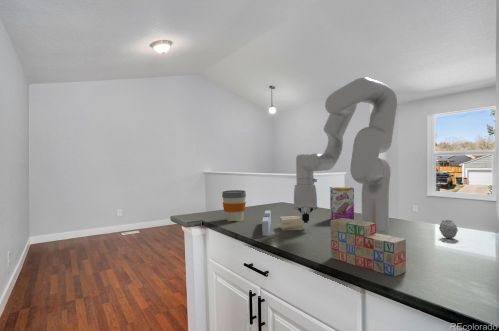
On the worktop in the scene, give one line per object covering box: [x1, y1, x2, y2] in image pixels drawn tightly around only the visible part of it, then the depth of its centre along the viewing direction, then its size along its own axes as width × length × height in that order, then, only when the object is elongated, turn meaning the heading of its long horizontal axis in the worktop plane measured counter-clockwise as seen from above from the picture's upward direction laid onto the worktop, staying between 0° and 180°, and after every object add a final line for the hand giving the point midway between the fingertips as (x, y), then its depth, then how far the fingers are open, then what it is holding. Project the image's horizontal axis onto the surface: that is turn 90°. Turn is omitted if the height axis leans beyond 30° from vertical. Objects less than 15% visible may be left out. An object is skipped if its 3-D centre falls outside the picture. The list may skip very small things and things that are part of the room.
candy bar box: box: [329, 186, 355, 221], centre depth 159 cm, size 11×5×16 cm, turn 84°
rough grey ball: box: [438, 219, 458, 239], centre depth 120 cm, size 6×7×7 cm
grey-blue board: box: [261, 210, 272, 237], centre depth 143 cm, size 26×2×6 cm, turn 174°
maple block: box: [279, 215, 304, 232], centre depth 143 cm, size 7×9×5 cm
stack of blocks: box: [329, 218, 407, 278], centre depth 94 cm, size 21×6×12 cm, turn 36°
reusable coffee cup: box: [221, 189, 247, 222], centre depth 165 cm, size 13×13×15 cm
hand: (305, 222), depth 142 cm, fingers closed
